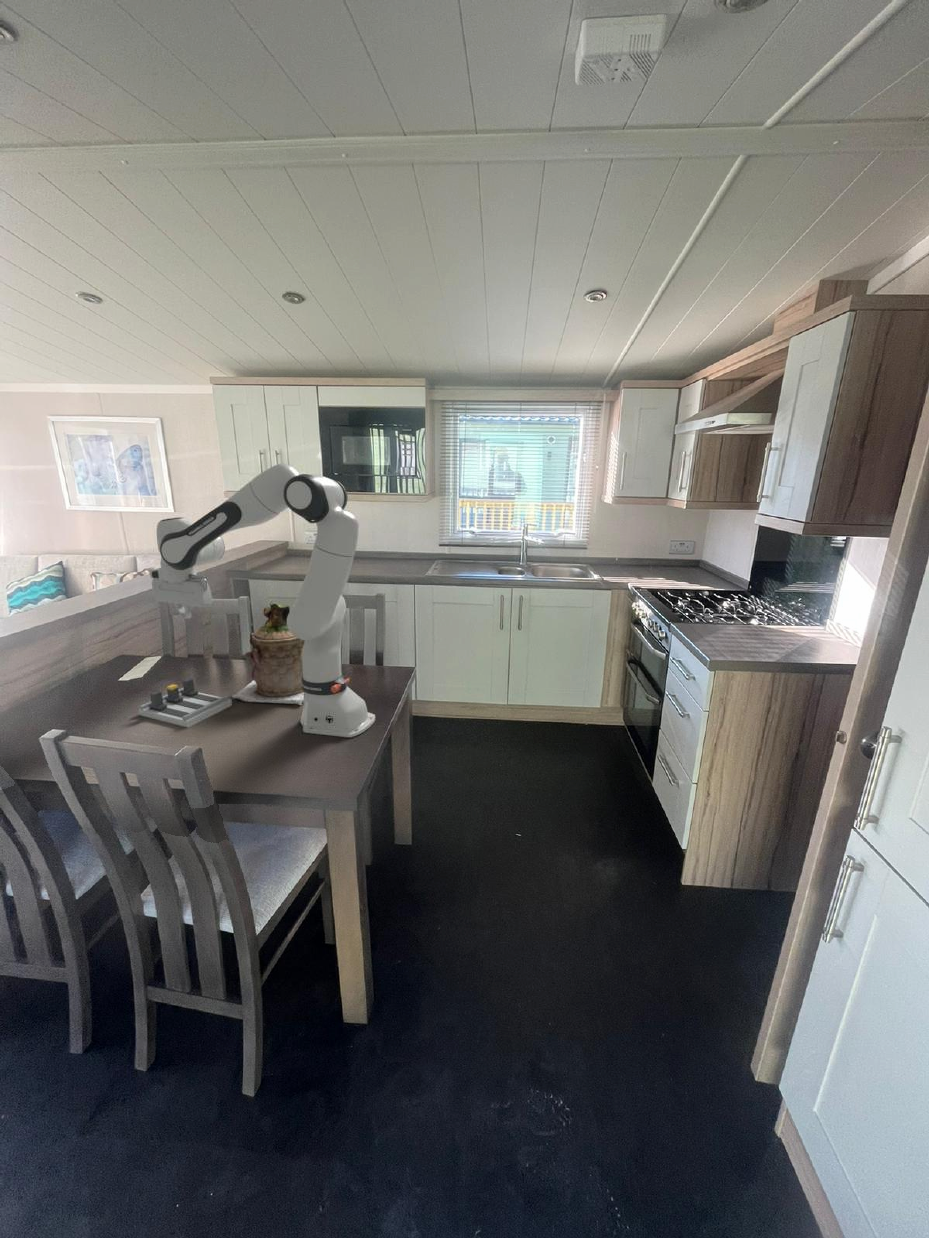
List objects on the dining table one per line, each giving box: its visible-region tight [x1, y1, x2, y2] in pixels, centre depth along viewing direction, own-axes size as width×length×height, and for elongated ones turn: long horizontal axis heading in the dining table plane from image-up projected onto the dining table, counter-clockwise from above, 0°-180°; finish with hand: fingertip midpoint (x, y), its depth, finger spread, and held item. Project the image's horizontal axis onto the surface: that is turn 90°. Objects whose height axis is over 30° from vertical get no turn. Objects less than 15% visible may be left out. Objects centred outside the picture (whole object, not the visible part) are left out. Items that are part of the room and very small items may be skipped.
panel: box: [138, 687, 233, 728], centre depth 148 cm, size 20×16×3 cm
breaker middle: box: [165, 684, 183, 703], centre depth 148 cm, size 5×2×5 cm, turn 69°
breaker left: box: [149, 690, 167, 710], centre depth 143 cm, size 5×2×5 cm, turn 69°
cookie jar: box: [231, 601, 305, 706], centre depth 160 cm, size 25×25×32 cm
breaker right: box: [181, 677, 199, 696], centre depth 153 cm, size 5×2×5 cm, turn 69°
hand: (185, 617), depth 144 cm, fingers closed
